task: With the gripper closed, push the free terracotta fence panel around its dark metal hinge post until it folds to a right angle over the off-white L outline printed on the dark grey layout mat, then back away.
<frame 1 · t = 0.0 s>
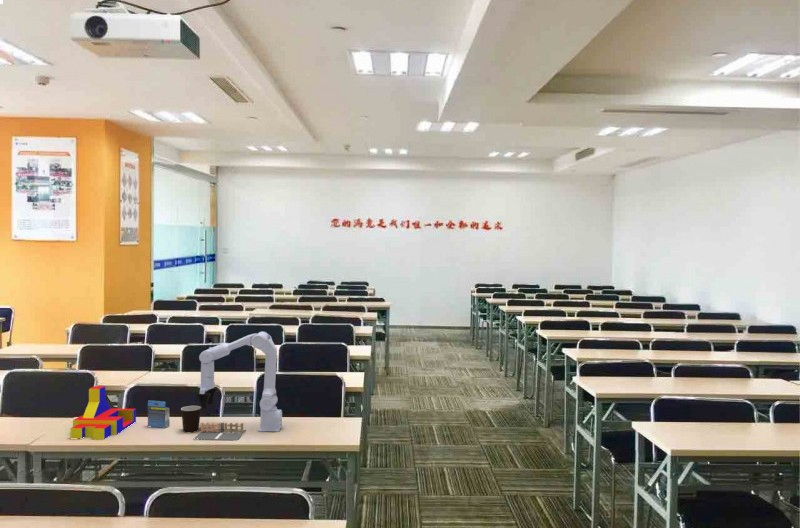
hand: (207, 406, 262), 10 cm above the table, tool pointing down, fingers open, 7 cm apart
fence panel: (210, 427, 255), point 3 cm above the table, hinge at 0.0°
label tape box: (158, 427, 263), on the table
fixed fence: (222, 433, 255), resting on layout mat
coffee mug: (192, 429, 260), on the table
building blocks toy: (102, 431, 257), on the table
layout mat: (220, 435, 252), on the table
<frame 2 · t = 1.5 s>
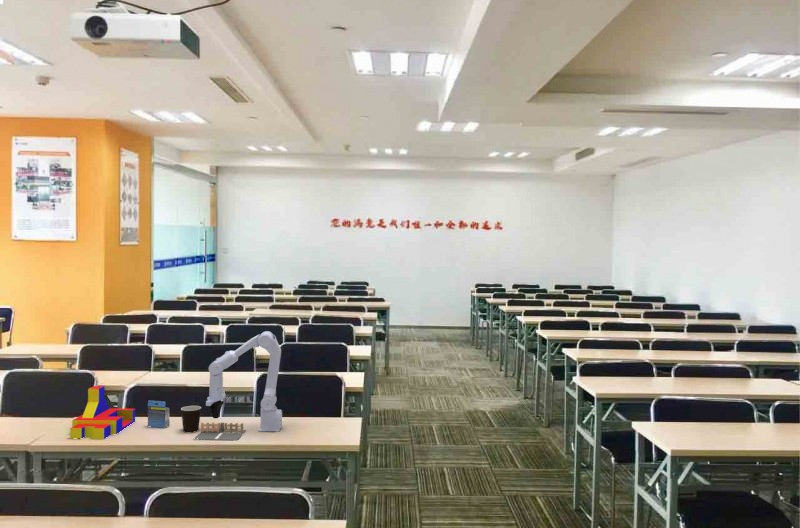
hand: (215, 417, 259), 5 cm above the table, tool pointing down, fingers closed
nothing on the table moved.
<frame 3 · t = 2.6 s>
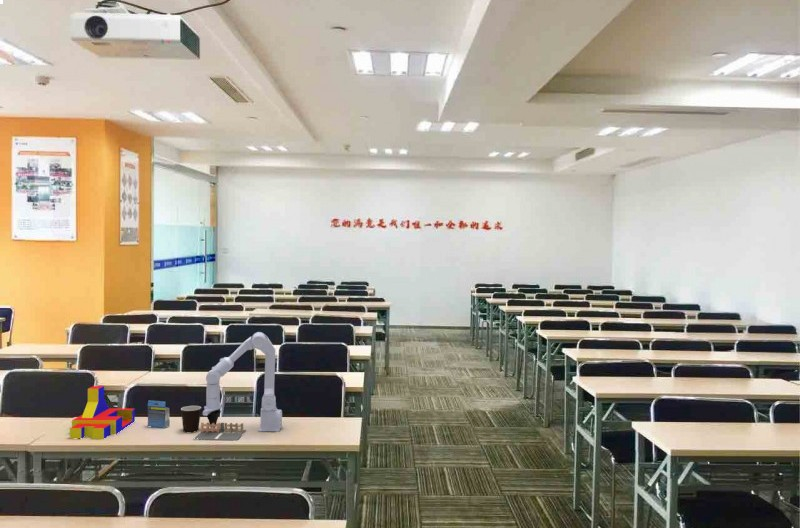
hand: (212, 427, 257), 2 cm above the table, tool pointing down, fingers closed, pressing on fence panel
fence panel: (210, 427, 255), point 3 cm above the table, hinge at 0.0°, touching gripper
everything else where it was.
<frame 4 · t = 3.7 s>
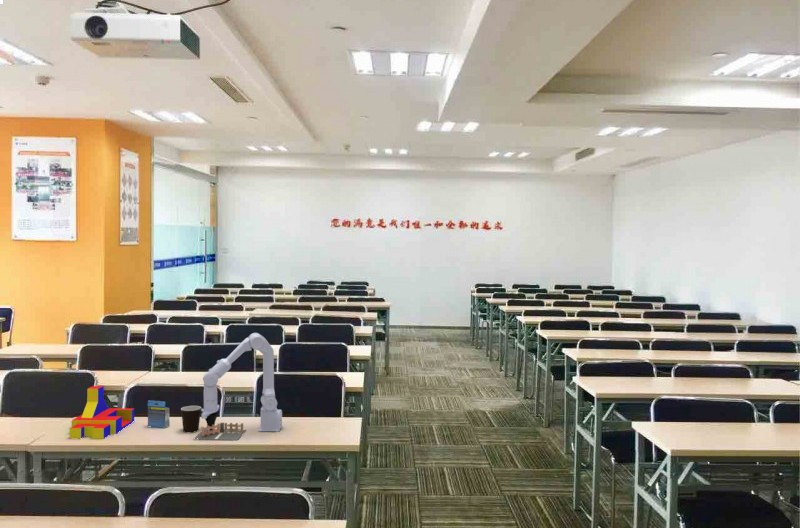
hand: (210, 430, 253), 2 cm above the table, tool pointing down, fingers closed, pressing on fence panel
fence panel: (210, 429, 251), point 3 cm above the table, hinge at 41.4°, touching gripper
everything else where it was.
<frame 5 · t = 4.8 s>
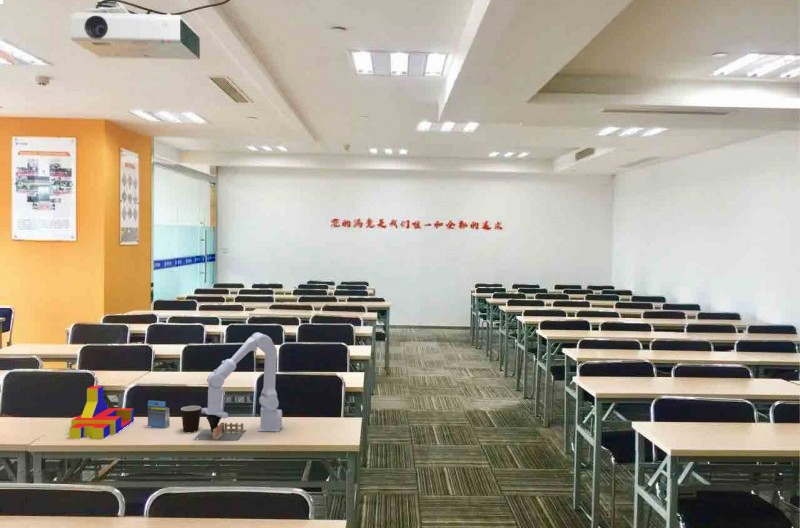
hand: (213, 432, 249), 2 cm above the table, tool pointing down, fingers closed, pressing on fence panel
fence panel: (217, 431, 250), point 3 cm above the table, hinge at 86.4°, touching gripper
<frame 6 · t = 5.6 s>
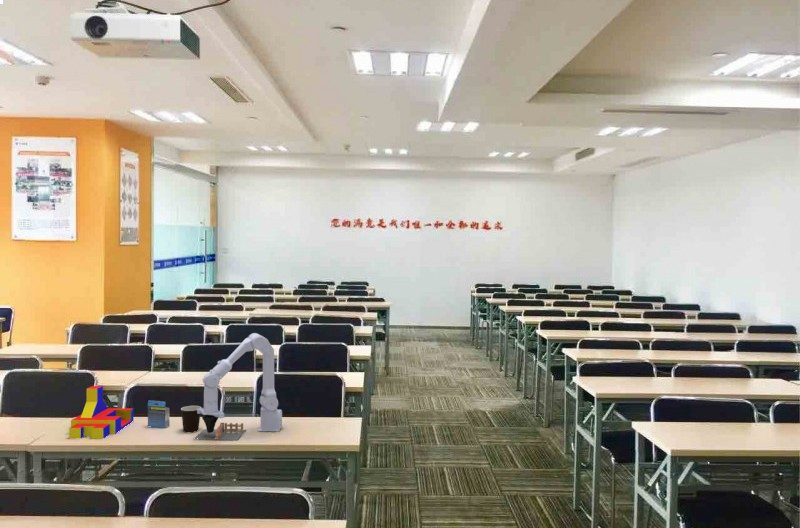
hand: (210, 432, 250), 2 cm above the table, tool pointing down, fingers closed
fence panel: (219, 431, 250), point 3 cm above the table, hinge at 94.0°
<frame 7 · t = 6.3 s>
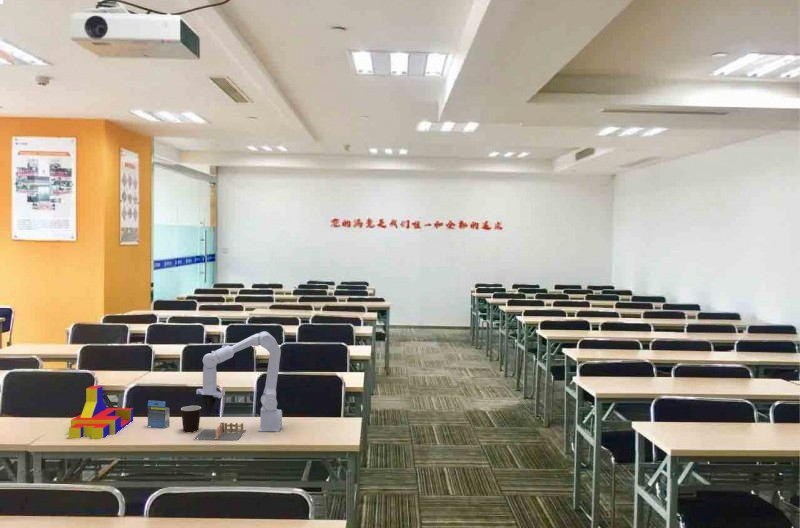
hand: (209, 412, 253), 10 cm above the table, tool pointing down, fingers closed
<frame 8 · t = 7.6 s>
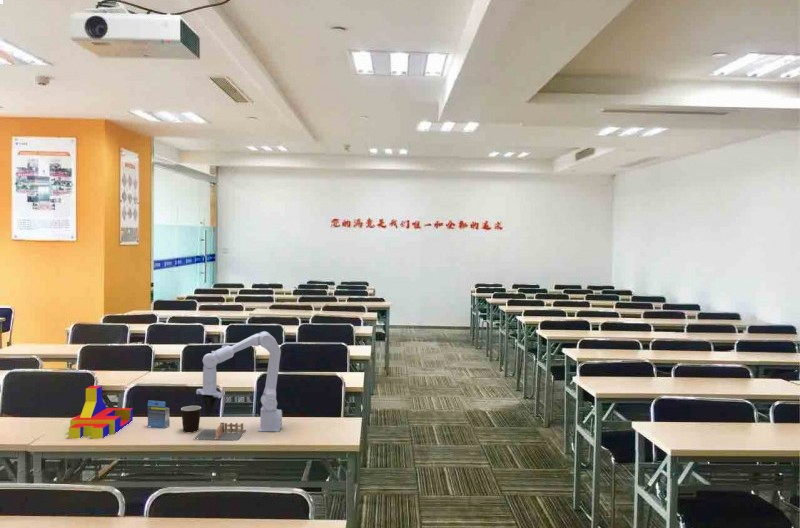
hand: (209, 412, 253), 10 cm above the table, tool pointing down, fingers closed
at the end: fence panel at +94° (first picture: +0°) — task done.
